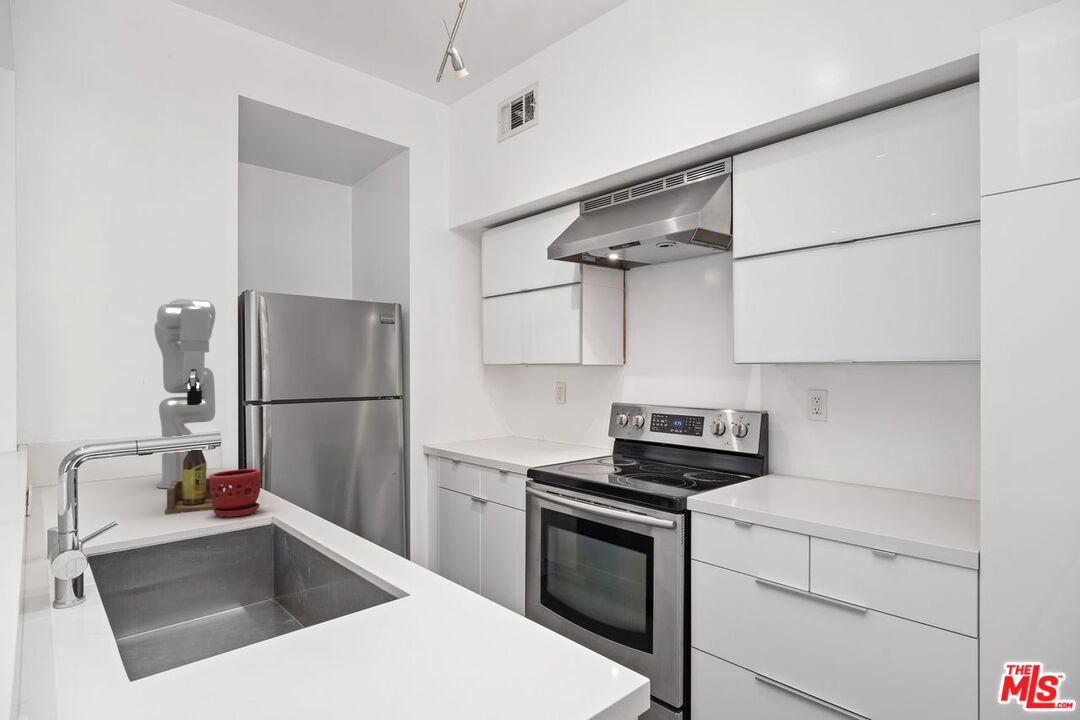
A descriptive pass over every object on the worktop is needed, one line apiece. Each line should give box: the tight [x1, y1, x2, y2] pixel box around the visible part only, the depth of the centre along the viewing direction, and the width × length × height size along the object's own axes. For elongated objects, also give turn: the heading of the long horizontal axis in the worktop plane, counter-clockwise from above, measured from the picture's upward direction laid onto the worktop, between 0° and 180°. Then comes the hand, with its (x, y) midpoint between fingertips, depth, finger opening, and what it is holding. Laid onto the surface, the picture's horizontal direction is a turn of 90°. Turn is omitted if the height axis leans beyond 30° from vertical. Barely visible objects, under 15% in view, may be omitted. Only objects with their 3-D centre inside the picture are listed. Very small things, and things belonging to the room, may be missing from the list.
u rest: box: [164, 478, 217, 515], centre depth 176 cm, size 14×14×7 cm
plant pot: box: [209, 468, 262, 518], centre depth 167 cm, size 13×13×12 cm
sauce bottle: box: [182, 449, 208, 505], centre depth 176 cm, size 6×6×20 cm
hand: (194, 404), depth 176 cm, fingers open, 9 cm apart
